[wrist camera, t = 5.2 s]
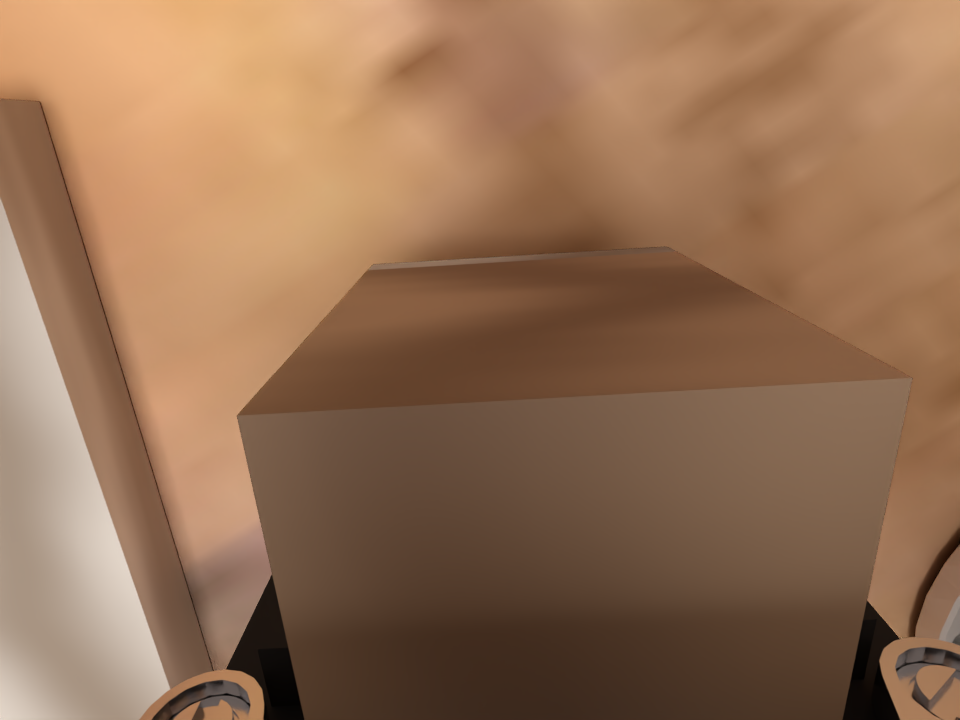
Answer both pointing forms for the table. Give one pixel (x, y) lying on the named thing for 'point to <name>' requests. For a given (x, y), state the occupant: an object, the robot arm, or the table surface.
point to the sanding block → (572, 495)
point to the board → (74, 475)
